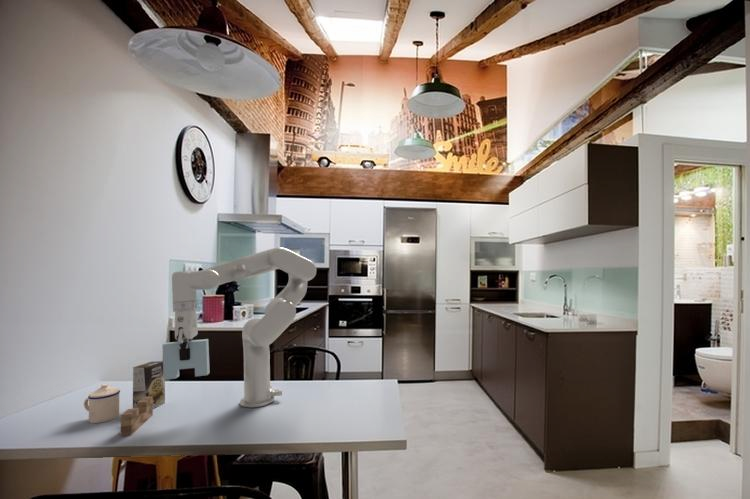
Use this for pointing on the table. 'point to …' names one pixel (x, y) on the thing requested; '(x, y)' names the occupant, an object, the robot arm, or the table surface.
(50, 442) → the table surface
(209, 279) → the robot arm
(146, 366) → the coffee box
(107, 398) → the teacup with lid
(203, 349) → the light blue arch block
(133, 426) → the notched walnut block
